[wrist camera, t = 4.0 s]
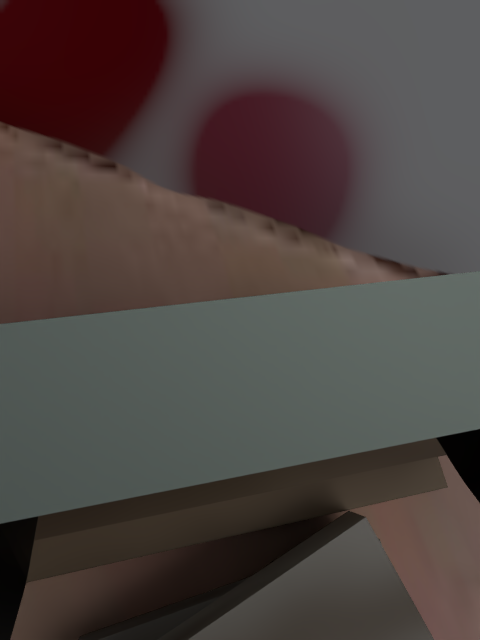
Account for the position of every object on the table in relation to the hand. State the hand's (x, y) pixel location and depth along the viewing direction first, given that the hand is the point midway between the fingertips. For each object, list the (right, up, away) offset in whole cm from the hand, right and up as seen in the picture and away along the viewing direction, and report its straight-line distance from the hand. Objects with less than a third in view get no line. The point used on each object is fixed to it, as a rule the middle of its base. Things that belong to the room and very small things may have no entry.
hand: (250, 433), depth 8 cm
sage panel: (-1, -2, +7) cm, 8 cm away
